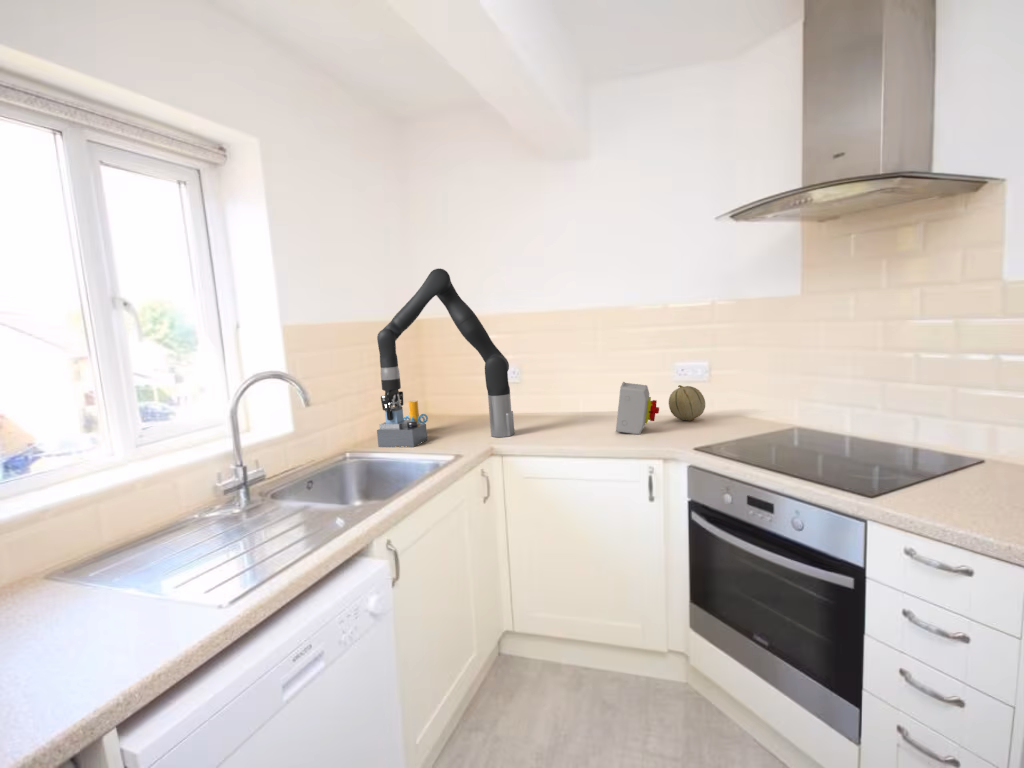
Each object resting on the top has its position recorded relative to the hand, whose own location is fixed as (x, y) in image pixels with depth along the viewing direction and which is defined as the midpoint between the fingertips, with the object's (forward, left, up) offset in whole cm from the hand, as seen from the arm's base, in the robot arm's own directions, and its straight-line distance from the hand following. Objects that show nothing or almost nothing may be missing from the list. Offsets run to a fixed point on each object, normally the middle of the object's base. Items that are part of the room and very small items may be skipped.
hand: (394, 418), depth 211 cm
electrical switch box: (-96, -22, -11) cm, 99 cm away
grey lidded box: (0, 0, -4) cm, 4 cm away
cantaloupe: (-115, -42, -11) cm, 123 cm away
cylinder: (0, -17, -11) cm, 20 cm away
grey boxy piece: (-3, 0, -11) cm, 11 cm away
